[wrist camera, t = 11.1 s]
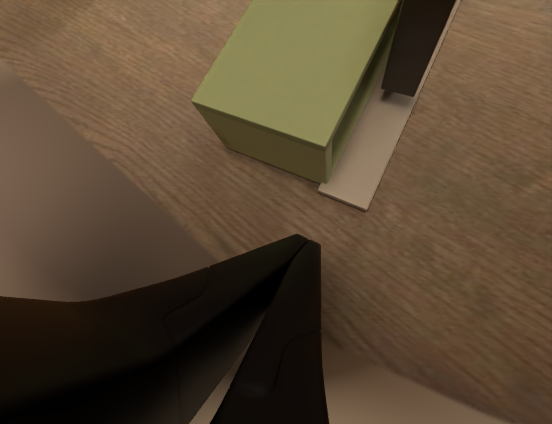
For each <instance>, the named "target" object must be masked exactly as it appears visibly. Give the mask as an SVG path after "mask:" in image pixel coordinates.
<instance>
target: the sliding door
mask: <svg viewBox="0 0 552 424" xmlns="http://www.w3.org/2000/svg"><path fill="white" fill-rule="evenodd" d="M456 1H457V0H403V1H402V5H401V9H400V13H399V17H398V21H397V25H396V29H395V33H394V37H393V41H392V45H391V49H390V53H389V57H388V61H387V65H386V69H385V73H384V77H383V81H382V85H381V89H383V90H387V91H391V92H394V93H398V94H402V95H406V96H410V97H414V96H415V94H416V92H417V89H418V87H419V85H420V83H421V80H422V78H423V76H424V74H425V71H426V69H427V67H428V64H429V62H430V60H431V58H432V55H433V53H434V51H435V48H436V46H437V44H438V42H439V39H440V37H441V35H442V32H443V30H444V28H445V26H446V23H447V21H448V19H449V17H450V14H451V12H452V10H453V7H454V5H455V3H456Z"/></svg>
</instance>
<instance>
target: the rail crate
mask: <svg viewBox="0 0 552 424" xmlns="http://www.w3.org/2000/svg"><path fill="white" fill-rule="evenodd" d="M402 1H403V0H252V1H251V3H250V5H249V6H248V8H247V10H246V11H245V13H244V14H243V16H242V18H241V19H240V21H239V23H238V24H237V26H236V28H235V29H234V31H233V32H232V34H231V36H230V37H229V39H228V41H227V42H226V44H225V45H224V47H223V49H222V50H221V52H220V54H219V55H218V57H217V59H216V60H215V62H214V63H213V65H212V67H211V68H210V70H209V72H208V73H207V75H206V76H205V78H204V80H203V81H202V83H201V85H200V86H199V88H198V90H197V91H196V93H195V94H194V96H193V98H192V99H191V102H192V103H193V105H194V106H195V107H196V108H197V110H198V111H199V112H200V114H201V115H202V116H203V117H204V119H205V120H206V121H207V123H208V124H209V125H210V127H211V128H212V129H213V131H214V132H215V133H216V135H217V136H218V137H219V138H220V140H221V141H222V142H223V144H224V145H225V146H226V147H227V148H230V149H232V150H235V151H237V152H240V153H242V154H245V155H248V156H250V157H253V158H255V159H258V160H260V161H263V162H265V163H268V164H271V165H273V166H276V167H278V168H281V169H283V170H286V171H289V172H291V173H294V174H296V175H299V176H301V177H304V178H306V179H309V180H312V181H314V182H317V183H319V184H320V186H319V188H318V190H317V191H318V193H320V194H322V195H325V196H327V197H330V198H332V199H335V200H337V201H340V202H342V203H345V204H347V205H350V206H352V207H355V208H357V209H360V210H362V211H365V212H366V211H367V209H368V207H369V205H370V202H371V200H372V198H373V196H374V193H375V191H376V189H377V187H378V185H379V182H380V180H381V178H382V176H383V173H384V171H385V169H386V167H387V164H388V162H389V160H390V158H391V156H392V153H393V151H394V149H395V147H396V144H397V142H398V140H399V138H400V136H401V133H402V131H403V129H404V127H405V124H406V122H407V120H408V118H409V115H410V113H411V111H412V109H413V107H414V104H415V102H416V100H417V98H418V95H419V93H420V91H421V89H422V87H423V84H424V82H425V80H426V78H427V75H428V73H429V71H430V69H431V66H432V64H433V62H434V60H435V58H436V55H437V53H438V51H439V49H440V46H441V44H442V42H443V40H444V38H445V35H446V33H447V31H448V29H449V26H450V24H451V22H452V20H453V18H454V15H455V13H456V11H457V9H458V6H459V4H460V2H461V0H457V1H456V3H455V5H454V7H453V10H452V12H451V14H450V17H449V19H448V21H447V23H446V26H445V28H444V30H443V32H442V35H441V37H440V39H439V42H438V44H437V46H436V48H435V51H434V53H433V55H432V58H431V60H430V62H429V64H428V67H427V69H426V71H425V74H424V76H423V78H422V80H421V83H420V85H419V87H418V89H417V92H416V94H415V96H414V97H410V96H406V95H402V94H398V93H394V92H391V91H387V90H383V89H381V85H382V81H383V77H384V73H385V69H386V65H387V61H388V57H389V53H390V49H391V45H392V41H393V37H394V33H395V29H396V25H397V21H398V17H399V13H400V9H401V5H402Z"/></svg>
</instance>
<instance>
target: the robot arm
mask: <svg viewBox="0 0 552 424" xmlns="http://www.w3.org/2000/svg"><path fill="white" fill-rule="evenodd" d="M255 333H256V334H255ZM254 335H255V336H254ZM253 336H254V338H253V340H252V342H251V344H250V346H249V348H248V350H247V352H246V354H245V356H244V358H243V361H242V362H241V364H240V367H239V369H238V371H237V373H236V375H235V377H234V379H233V381H232V383H231V385H230V388H229V389H228V391H227V393H226V395H225V397H224V399H223V401H222V403H221V405H220V407H219V408H218V410H217V412H216V414H215V415H214V417H213V419H212V421H211V422H210V424H329V419H328V412H327V404H326V396H325V388H324V379H323V369H322V348H321V245H320V244H319V243H317V242H314V241H312V240H308V239H307V238H306V237H304V236H301V235H299V234H295V235H292V236H289V237H287V238H284V239H281V240H279V241H276V242H273V243H270V244H268V245H265V246H262V247H260V248H257V249H254V250H252V251H249V252H246V253H244V254H241V255H238V256H236V257H233V258H230V259H227V260H225V261H222V262H219V263H217V264H214V265H211V266H210V267H209V268H208V267H206V268H203V269H201V270H198V271H195V272H192V273H189V274H186V275H183V276H180V277H177V278H174V279H171V280H167V281H164V282H160V283H157V284H153V285H149V286H146V287H143V288H138V289H135V290H131V291H127V292H124V293H120V294H116V295H112V296H109V297H105V298H100V299H96V300H90V301H81V302H60V301H48V300H37V299H26V298H14V297H13V298H12V297H2V296H0V424H189V423H190V422H191V420H192V419H193V417H194V416H195V415H196V413H197V412H198V411H199V409H200V408H201V406H202V405H203V404H204V403H205V401H206V400H207V399H208V397H209V396H210V394H211V393H212V392H213V390H214V389H215V388H216V386H217V385H218V384H219V382H220V381H221V380H222V378H223V377H224V375H225V374H226V373H227V371H228V370H229V369H230V367H231V366H232V365H233V363H234V362H235V360H236V359H237V358H238V356H239V355H240V354H241V352H242V351H243V350H244V348H245V347H246V346H247V344H248V343H249V341H250V340H251V339H252V337H253Z"/></svg>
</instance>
